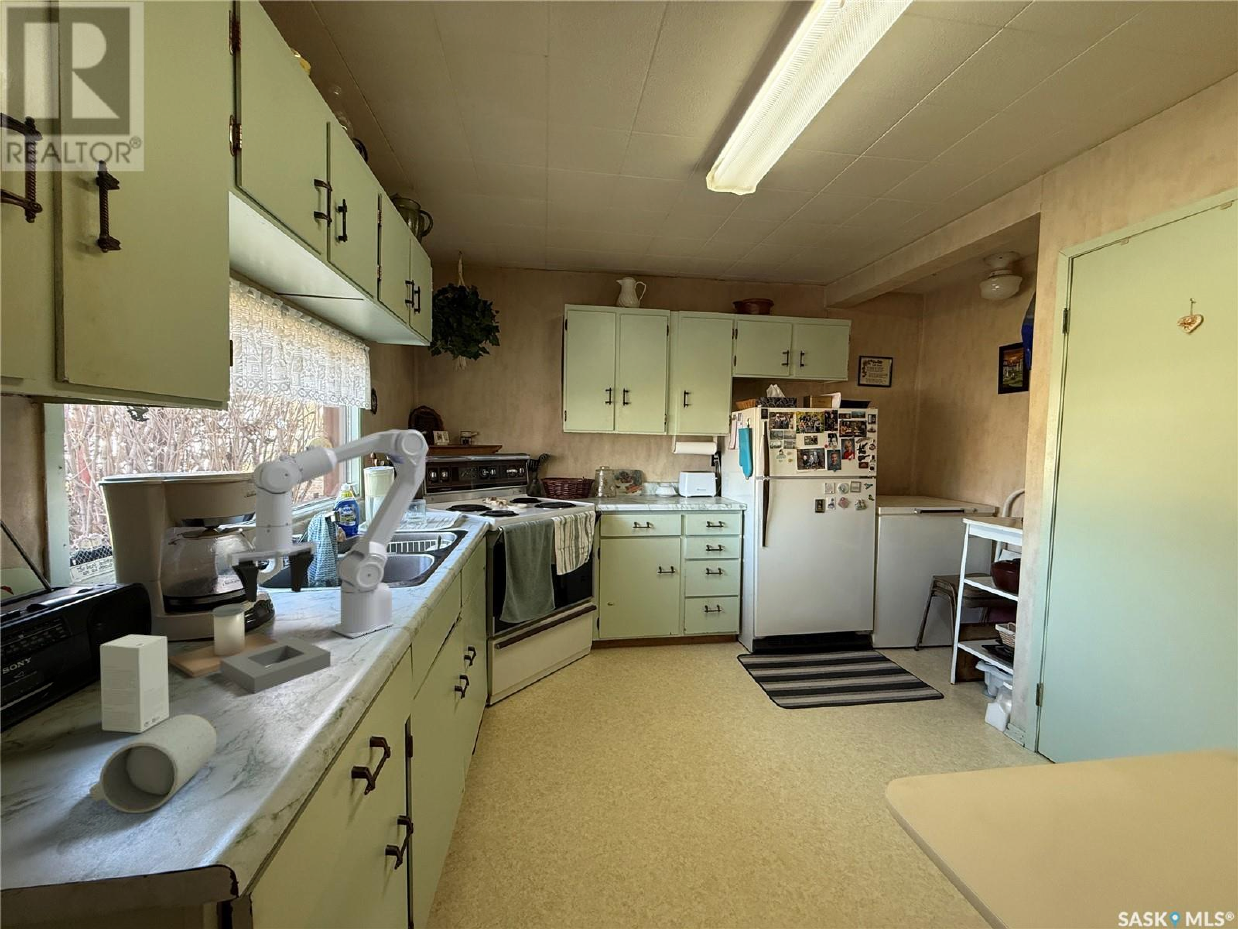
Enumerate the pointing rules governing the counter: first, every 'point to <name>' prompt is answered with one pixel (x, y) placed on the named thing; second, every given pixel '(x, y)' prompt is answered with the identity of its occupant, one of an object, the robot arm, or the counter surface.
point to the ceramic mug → (156, 764)
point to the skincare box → (134, 683)
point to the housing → (258, 678)
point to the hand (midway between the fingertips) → (274, 596)
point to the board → (213, 656)
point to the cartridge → (229, 629)
